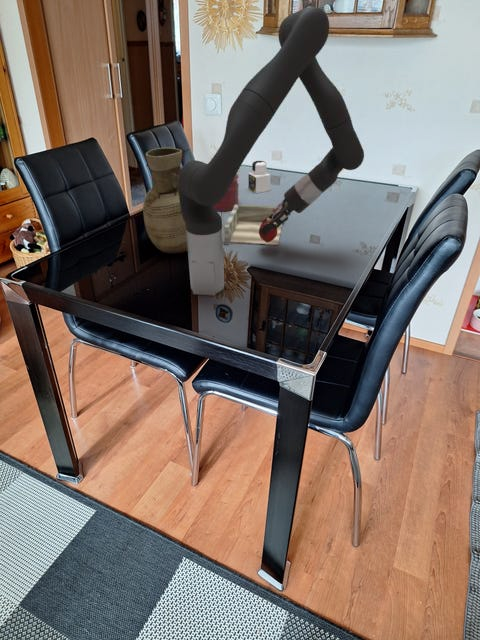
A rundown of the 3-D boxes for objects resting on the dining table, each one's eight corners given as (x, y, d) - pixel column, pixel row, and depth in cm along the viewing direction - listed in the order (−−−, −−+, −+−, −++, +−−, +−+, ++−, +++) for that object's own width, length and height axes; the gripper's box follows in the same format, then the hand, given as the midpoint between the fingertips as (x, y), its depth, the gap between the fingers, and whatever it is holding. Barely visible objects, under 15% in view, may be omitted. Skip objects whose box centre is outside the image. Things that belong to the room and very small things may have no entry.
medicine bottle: (248, 188, 190) (248, 160, 184) (262, 186, 193) (263, 158, 186) (255, 193, 185) (255, 164, 178) (270, 191, 187) (270, 162, 181)
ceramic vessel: (199, 229, 153) (193, 140, 136) (211, 254, 136) (206, 156, 119) (145, 235, 149) (132, 144, 132) (150, 262, 132) (136, 161, 115)
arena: (279, 247, 140) (279, 229, 137) (224, 244, 143) (224, 226, 139) (283, 222, 157) (284, 206, 154) (235, 220, 160) (234, 204, 156)
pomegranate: (275, 246, 134) (276, 222, 130) (257, 245, 135) (257, 221, 131) (278, 239, 139) (279, 215, 134) (260, 238, 140) (260, 214, 135)
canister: (243, 209, 170) (243, 162, 160) (212, 213, 166) (210, 166, 156) (232, 199, 180) (231, 154, 170) (202, 203, 176) (199, 158, 166)
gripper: (296, 176, 131) (257, 212, 140) (293, 191, 120) (250, 229, 128) (312, 194, 134) (272, 229, 142) (311, 210, 122) (268, 247, 130)
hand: (262, 229), depth 135 cm, fingers closed on pomegranate, 5 cm apart
